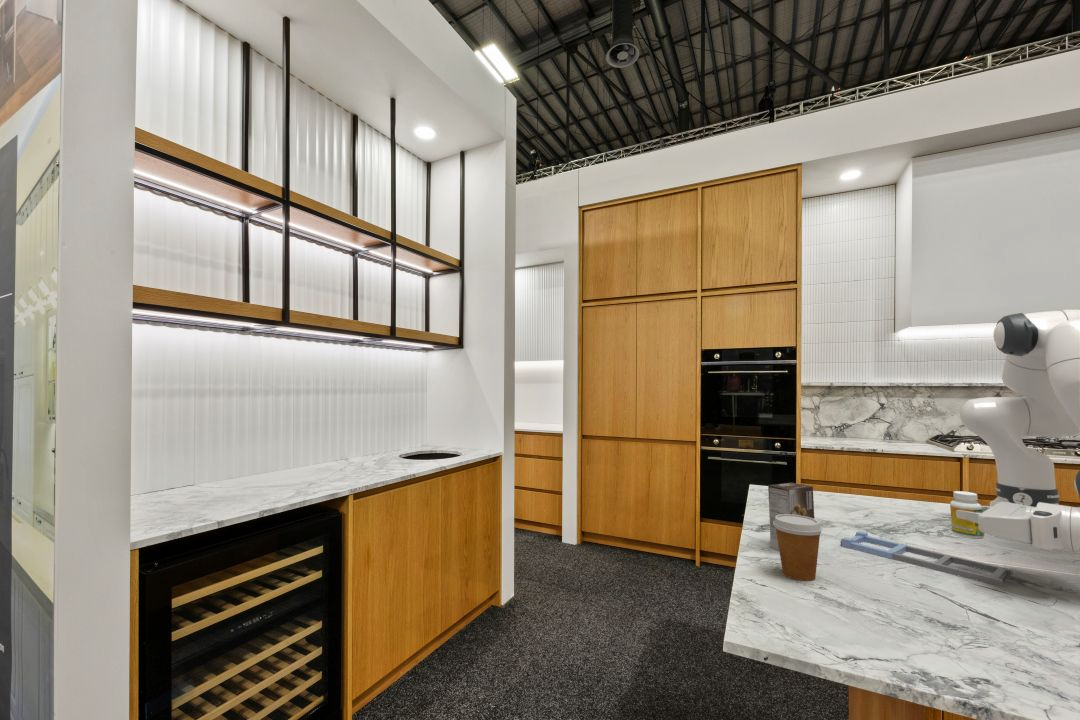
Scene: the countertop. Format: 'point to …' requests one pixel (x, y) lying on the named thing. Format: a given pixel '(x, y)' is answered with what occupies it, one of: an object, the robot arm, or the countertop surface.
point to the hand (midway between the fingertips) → (961, 510)
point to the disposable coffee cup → (798, 545)
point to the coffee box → (789, 504)
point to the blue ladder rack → (938, 565)
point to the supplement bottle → (961, 525)
